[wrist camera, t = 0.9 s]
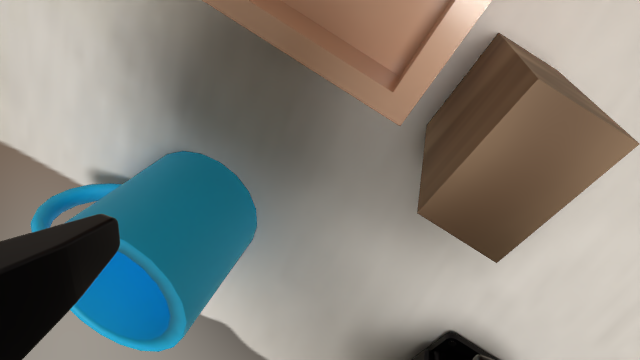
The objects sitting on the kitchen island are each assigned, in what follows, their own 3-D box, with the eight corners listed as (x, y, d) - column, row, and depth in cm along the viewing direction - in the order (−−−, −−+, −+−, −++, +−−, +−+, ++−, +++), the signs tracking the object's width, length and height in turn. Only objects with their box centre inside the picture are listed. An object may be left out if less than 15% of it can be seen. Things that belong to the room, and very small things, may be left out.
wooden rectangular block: (558, 70, 16) (639, 144, 9) (477, 157, 19) (496, 263, 12) (498, 32, 16) (538, 78, 9) (426, 125, 19) (417, 212, 12)
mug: (263, 172, 23) (185, 259, 16) (252, 269, 27) (187, 371, 20) (91, 119, 25) (-44, 177, 18) (106, 218, 29) (1, 296, 22)
